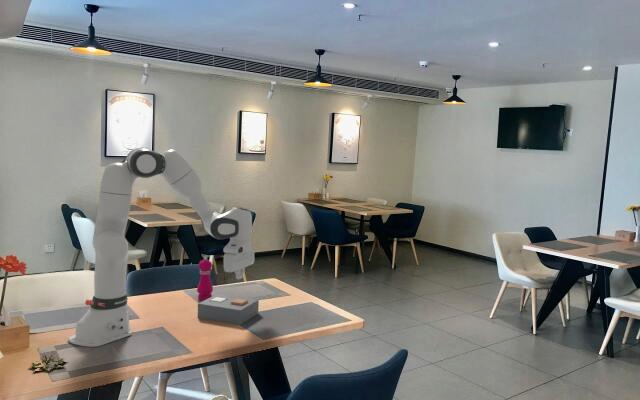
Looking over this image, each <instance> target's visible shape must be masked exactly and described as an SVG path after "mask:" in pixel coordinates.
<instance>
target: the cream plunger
mask: <svg viewBox="0 0 640 400" xmlns="http://www.w3.org/2000/svg"><path fill="white" fill-rule="evenodd" d="M225 300H227V299H226V298H220V297H216V298H214V299H212V300H210V301H213V302H219V303H221V302H223V301H225Z"/></svg>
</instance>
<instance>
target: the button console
mask: <svg viewBox="0 0 640 400" xmlns="http://www.w3.org/2000/svg"><path fill="white" fill-rule="evenodd" d="M216 297H220V298H226V299H227V300H225V301H223V302H221V303H219V302H213V301H210V300H212V299H214V298H216ZM235 299H244V300H248V301H247V304H245V305H243V306H238V305H232V304H231V301H233V300H235ZM259 301H260V300H259V299H257V298H249V297H242V296H236V295H230V294H222V293H217V294H214V295H212V297H210V298H208V299H206V300H201V301H200V302H199V303H198V302H197V318H199V319H204V320H210V321H215V322H222V323H228V324H235V325H242V324H244V323H246V322H247V321H249V320H250V319H251V318H254V317H255V316H257V315H258V314H259V307H260V305H259V303H260V302H259Z"/></svg>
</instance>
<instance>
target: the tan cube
mask: <svg viewBox="0 0 640 400" xmlns="http://www.w3.org/2000/svg"><path fill="white" fill-rule="evenodd" d="M247 301H248V300H244V299H235V300H233V301H231V304H232V305H238V306H243V305H245V304H247Z"/></svg>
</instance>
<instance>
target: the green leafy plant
mask: <svg viewBox="0 0 640 400" xmlns="http://www.w3.org/2000/svg"><path fill="white" fill-rule="evenodd" d="M55 354H56V352H54V351H52V352H51V354H50V356H47V355H46V353H44V352H43V354H42V356H41V357H42V358H43V359H42V358H40V359H39V360H40V361H42V363H44V362H45V363H46V365H45V366H47V365H49V364H48V363H50V361H52V362H54V359H56V358H55V357H56V356H54V355H55ZM53 356H54V357H53ZM47 359H49V360H48V361H47ZM46 361H47V362H46ZM64 361H65V360H63V359H62V360H58V361H55V362H58V364H61V365H62V363H61V362H64ZM58 364H57V365H58ZM39 365H41V363H38V364H32V365H31V366H30V367H34V369H35V368H41V367H35V366H39ZM50 367H51V366H50ZM48 368H49V367H47V368H41V369H42V370H43V369H45V370H44V371H46V370H47V369H48ZM53 368H56V365H55V366H54V367H51V369H52V370H54V369H53Z"/></svg>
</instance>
